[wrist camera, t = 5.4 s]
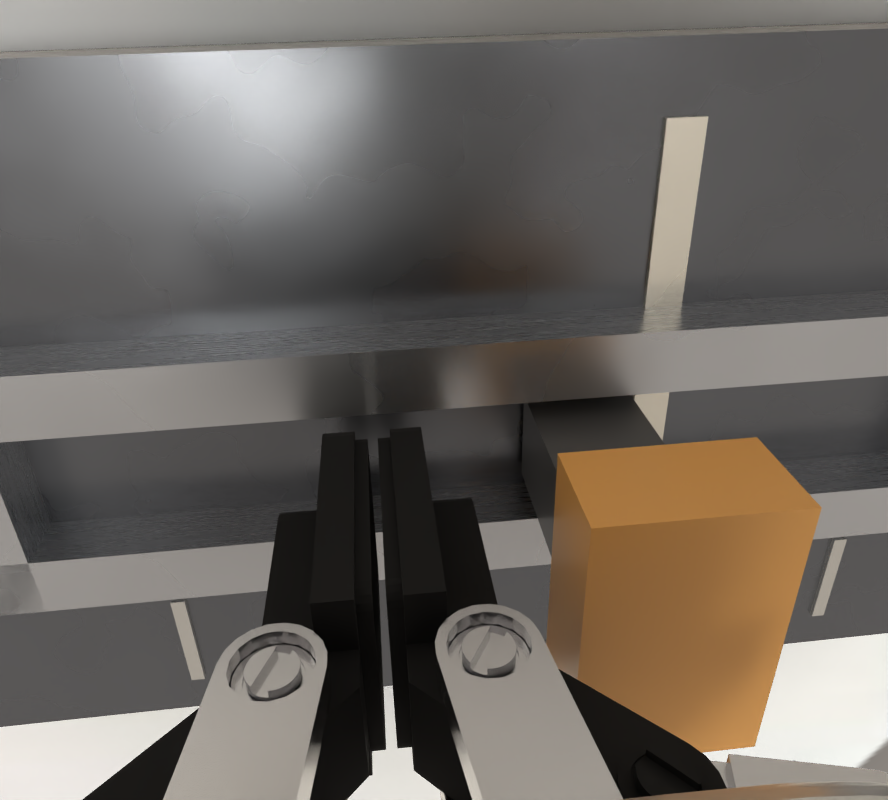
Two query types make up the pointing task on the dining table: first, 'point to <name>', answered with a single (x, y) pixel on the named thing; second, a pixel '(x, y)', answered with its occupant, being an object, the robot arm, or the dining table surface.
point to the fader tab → (666, 564)
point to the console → (413, 309)
